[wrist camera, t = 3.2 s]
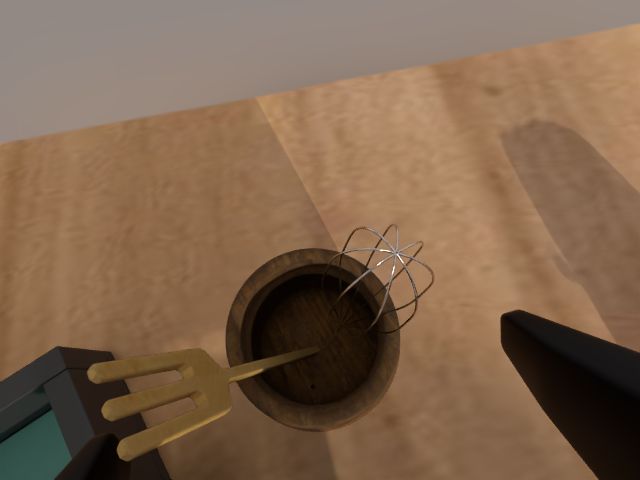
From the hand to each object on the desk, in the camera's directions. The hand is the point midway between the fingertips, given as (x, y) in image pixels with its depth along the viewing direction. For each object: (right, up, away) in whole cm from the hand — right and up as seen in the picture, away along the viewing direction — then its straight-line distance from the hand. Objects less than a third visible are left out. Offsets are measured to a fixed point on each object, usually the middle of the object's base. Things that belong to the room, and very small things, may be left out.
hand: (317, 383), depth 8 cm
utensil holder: (0, -2, +9) cm, 9 cm away
